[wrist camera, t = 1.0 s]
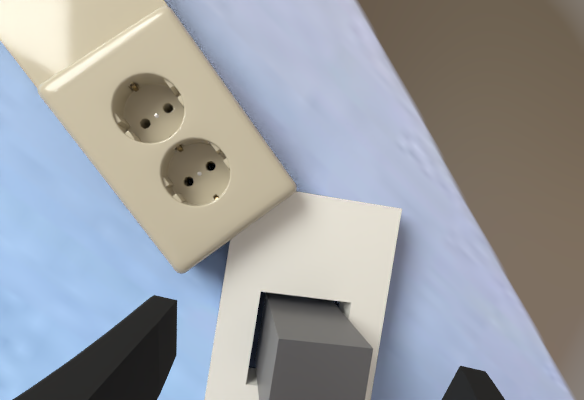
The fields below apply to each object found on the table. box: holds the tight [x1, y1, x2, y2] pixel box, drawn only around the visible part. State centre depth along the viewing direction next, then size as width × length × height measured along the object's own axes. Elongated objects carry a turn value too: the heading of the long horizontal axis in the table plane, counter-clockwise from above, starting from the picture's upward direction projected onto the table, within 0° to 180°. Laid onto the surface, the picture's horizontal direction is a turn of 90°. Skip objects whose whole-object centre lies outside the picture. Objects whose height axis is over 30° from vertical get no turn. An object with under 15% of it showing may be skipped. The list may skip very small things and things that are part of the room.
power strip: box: [204, 192, 402, 400], centre depth 21 cm, size 22×9×3 cm, turn 171°
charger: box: [255, 292, 373, 400], centre depth 19 cm, size 4×4×7 cm
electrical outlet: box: [0, 0, 297, 274], centre depth 19 cm, size 7×4×18 cm
